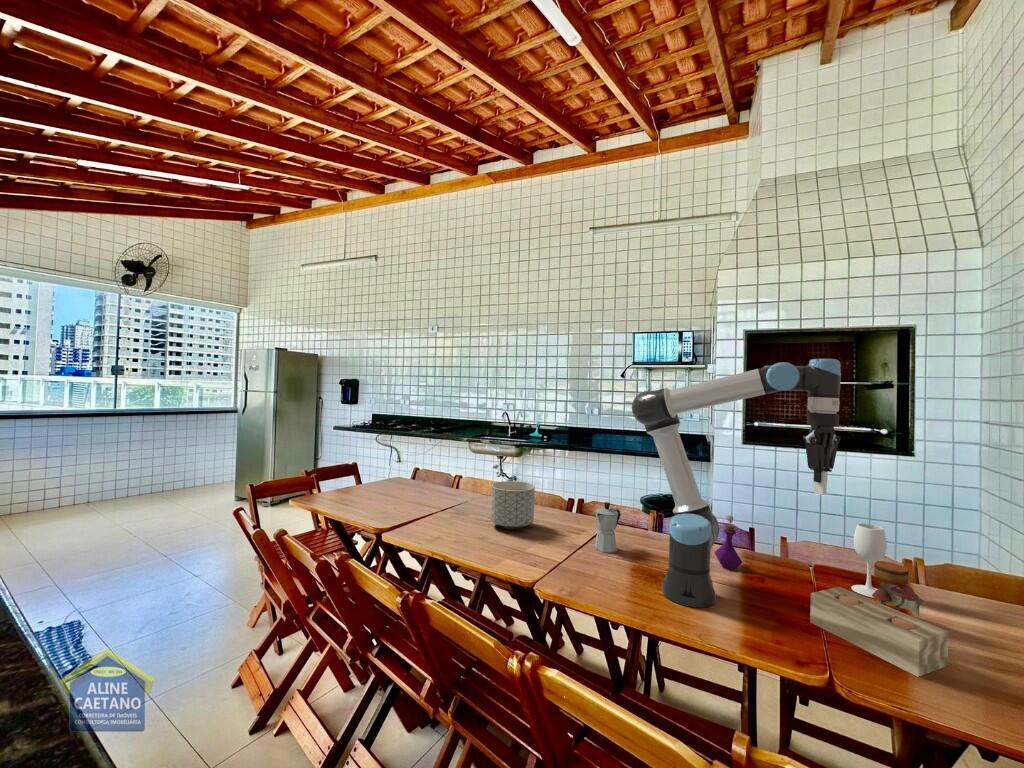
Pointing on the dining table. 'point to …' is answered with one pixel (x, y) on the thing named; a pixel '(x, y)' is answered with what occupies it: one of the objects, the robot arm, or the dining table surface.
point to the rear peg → (848, 600)
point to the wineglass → (869, 551)
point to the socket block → (881, 631)
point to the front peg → (903, 623)
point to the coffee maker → (606, 528)
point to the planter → (512, 504)
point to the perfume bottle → (728, 548)
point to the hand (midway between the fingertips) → (819, 493)
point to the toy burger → (895, 587)
